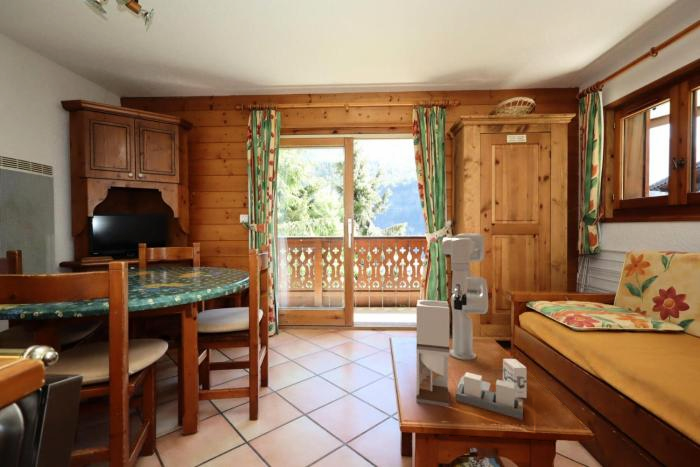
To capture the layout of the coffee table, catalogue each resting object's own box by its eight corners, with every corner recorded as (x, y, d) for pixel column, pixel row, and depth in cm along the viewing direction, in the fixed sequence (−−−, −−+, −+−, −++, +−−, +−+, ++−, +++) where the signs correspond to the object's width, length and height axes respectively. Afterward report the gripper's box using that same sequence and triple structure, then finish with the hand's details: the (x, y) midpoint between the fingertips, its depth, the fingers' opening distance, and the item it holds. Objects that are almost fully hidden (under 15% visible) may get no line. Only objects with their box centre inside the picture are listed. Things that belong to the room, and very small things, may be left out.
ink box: (502, 387, 115) (502, 358, 115) (514, 387, 115) (514, 358, 115) (514, 399, 107) (514, 367, 107) (527, 399, 106) (527, 367, 107)
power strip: (460, 391, 112) (460, 382, 112) (523, 408, 101) (523, 398, 101) (455, 401, 105) (455, 392, 105) (522, 421, 94) (522, 410, 94)
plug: (466, 395, 109) (466, 372, 109) (481, 400, 106) (481, 375, 106) (463, 400, 105) (463, 376, 106) (480, 405, 102) (480, 380, 103)
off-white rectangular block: (496, 404, 103) (496, 379, 103) (514, 409, 100) (514, 383, 100) (495, 410, 100) (495, 384, 100) (514, 415, 97) (513, 388, 97)
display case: (416, 401, 105) (416, 305, 105) (417, 387, 115) (417, 299, 115) (449, 406, 102) (449, 307, 102) (447, 391, 112) (447, 301, 112)
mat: (462, 377, 123) (462, 375, 123) (490, 384, 117) (490, 382, 117) (456, 388, 114) (456, 387, 114) (487, 397, 108) (487, 395, 108)
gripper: (455, 265, 132) (455, 302, 132) (446, 268, 117) (446, 310, 117) (473, 266, 128) (473, 304, 128) (466, 269, 114) (466, 313, 113)
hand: (460, 307), depth 123 cm, fingers open, 9 cm apart
